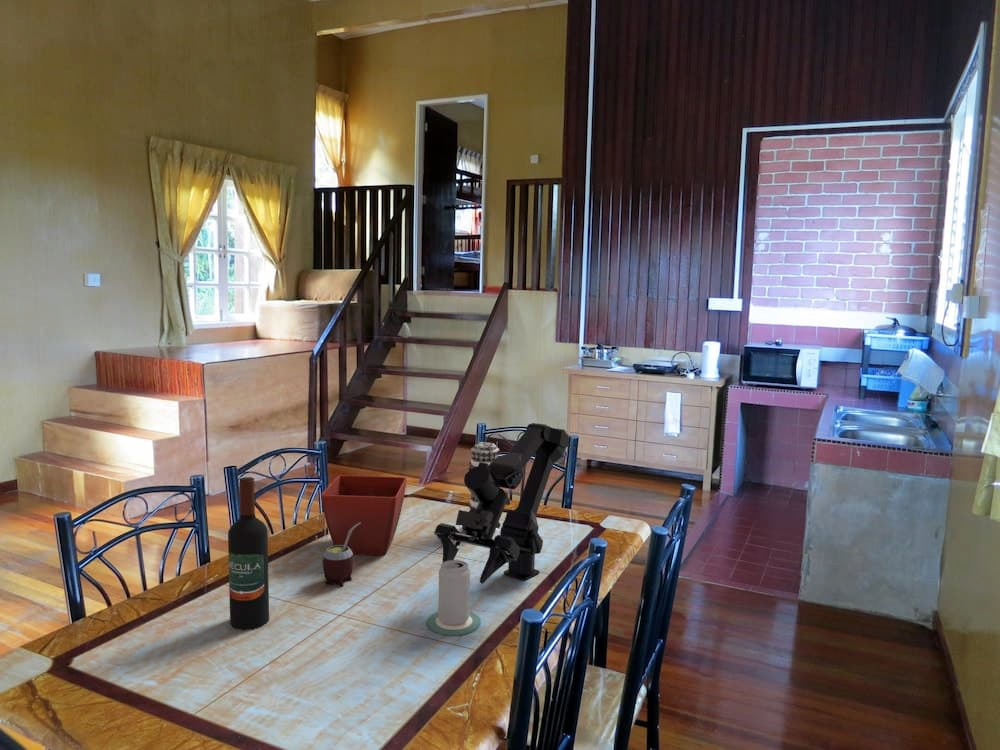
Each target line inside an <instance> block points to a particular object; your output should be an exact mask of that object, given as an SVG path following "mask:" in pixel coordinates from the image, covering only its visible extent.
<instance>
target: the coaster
mask: <svg viewBox="0 0 1000 750" xmlns="http://www.w3.org/2000/svg"><path fill="white" fill-rule="evenodd" d="M426 621H427V622H426V624H427V627H428V629H430V631H432V632H434V633H437V634H439V635H442V636H443V635H444V636H449V637H450V636H453V637H457V636H458V637H459V636H464V635H468V634H471V633H473V631H474V632H476V631H477V630H478V629H479V628H480V627H481V621H482V620H481V618H480V616H479V615H478V614H476V613H474V612H472V611H470V610H469V619H468V620H467V621H466V622H465V623H463V624H461V625H457V626H450V625H446V624H444V623H442V621H440V620H439V618H438V611H437V612H434V613H433V614H431V615H430V616H429V617H428V619H427V620H426ZM479 626H480V627H479Z"/></svg>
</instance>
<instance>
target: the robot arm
mask: <svg viewBox="0 0 1000 750" xmlns="http://www.w3.org/2000/svg"><path fill="white" fill-rule="evenodd" d="M569 443H570V436H569V435H568V433H567V432H566V430H565V429H563V428H555V427H552V426H550V425H547V424H543V423H537V422H536V423H535V422H532V423H528V425H527V427H526V430H525V431H524V433H522V435H521V436H520V438H518V440H517V441H516V442H515V444H514V445H513V446H512V447H511V448H510V450H509V451H508V452H507V453H506V454H503V455H500V456H499V455H498V457H497V458H496V459H495V460H494V461H492V462H491V463H490V465H488V464H487V463H481V462H480V463H479V465H478V467H474V468H472V469H471V470H468V472H466V473H465V475H464V477H463V482H464V483H463V484H464V485H465V487H466V489H468V491H469V492H470V494H471V493H472V495H473V496H474V498H475V499H476V500H477V501H479V503H478V505H477V507H476V509H472V510H471V512H469V511H468V510H467V511H466V510H461V509H458V512H457V515H456V520H455V525H456V526H462V527H461V529H462V531H464V532H465V533H463V532H459V530H458V529H457V527H456V526H455V525H453V524H446V523H442V522H441V523H438V524H437V526H436V527H435V528H434V531H433V534H434V535H435V536H436V538H437V539H438V541H439V542H440V543H441V545H442V563H443V562H445V561H449V560H455V558H456V556H457V554H458V552H459V550H460V549H459V548H458V547H459V546H460V545H461V543H463V544H467V545H473V546H476V547H482V548H486V549H489V555H488V558H487V561H486V563H485V565H484V568H483V570H482V572H481V575H480V578H479V583H480V584H482V585H483V584H484V583H485V582H486V581H487V580H488V579H489V578H490V577H491V576H492V575H493V574H495V572H497V571H498V570H499V569H501V567H503V566H504V565H506V564H508V566H507V567H508V568H507V569H506V570H504V571H503V574H504V575H507V576H510V577H513V578H515V579H518V580H522V581H526V580H528V579H530V578H533V577H534V576H536V575H538V574H539V573H540V570H538V569H535V564H536V563H535V561H536V559H535V558H536V557H535V556H536V555H537V554H538V555H539V554H541V553H542V550H543V546H544V545H543V544H544V540H543V539H542V537H541V536H540V534H539V533H538V532H539V530H540V529H539V523H538V520H537V513H538V510H539V507H540V504H541V501H542V498H543V495H544V492H545V489H546V486H547V484H548V481H549V477H550V475H551V472H552V469H553V466H554V464H555V463H556V462H557V461H558V460H560V459H561V458H562V457H563V456H564V454H565V451H566V450H567V448H568V446H569ZM534 455H535V456H534ZM533 456H534V460H533V461H532V465H531V468H530V472H529V474H528V476H527V478H526V482H525V485H524V487H523V491H522V493H521V496H520V498H519V499H520V500H519V502H518V505H517V507H516V508H515V509H514V510H511V509H508V511H507V512H506V514H505V517H504V521H503V523H502V524H501V523H500V520H501V517H502V514H503V511H504V510H505V507H506V506H510V504H511V500H510V497H509V493H508V492H506V491H505V490H504V489H507V490H508V489H509V490H516V488H518V487H519V485H520V484H521V482H522V480H523V478H524V468H525V466H526V465H527V464H528V462H529V461H530V460H531V459H532V457H533ZM499 487H500V488H499ZM500 527H501V528H500ZM496 528H498V529H500V533H499V534H497V535H496V536H494V535H495V533H496V532H495V530H496ZM493 537H494V539H493ZM442 563H441V564H442Z"/></svg>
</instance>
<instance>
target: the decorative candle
mask: <svg viewBox="0 0 1000 750" xmlns="http://www.w3.org/2000/svg"><path fill="white" fill-rule="evenodd" d="M470 450H471V459H470V461H469V463H468V466H469V467H468V471H469V470H471V469H472V468H474V467H478V465H479V463H480V462H481V463H487V464H488V465H490V463H491V462H492V461H494V460H495V459H496V458H497V457H499V451H500V448H499V447H497V445H496V444H495V443H493V442H491V441H490V442H489V441H488V442H486V441H481V442H476V443H475V444H474V446H473V447H472V448H470ZM499 488H501V487H499ZM478 503H479V501H477V500H476V499H475V498H474V496H473V495H472V493H471V492H470V502H469V505H468V508H469V511H468V512H471V510H472V509H476V507H477V505H478ZM498 530H499V528H496V530H495V532H494V533H496V532H497V531H498Z"/></svg>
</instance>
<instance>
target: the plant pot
mask: <svg viewBox="0 0 1000 750" xmlns="http://www.w3.org/2000/svg"><path fill="white" fill-rule="evenodd" d="M328 485H329V486H327V487H326V488H325V489H324V491H323V492H322V493H321V494H320V499H321V503H322V510H323V515H324V519H325V522H326V526H327V530H328V533H329V536H330V539H331V542H332V544H333V545H332V546H336V545H344V544H345V541H346V538H347V535H348V531H349V530H350V529H351V528H352V527H353V526H355V525H356V524H358V523H360V522H361V523H360V524H359V525H358V526H357V527H355V528H354V529H353V530H352V533H351V535H350V537H349V540H348V542H347V545H346V546H348V547H349V548H350V549H351V551H352V552H353V556H354V555H359V556H361V555H362V556H385V555H386V554H387V552H388V551H389V548H390V546H391V544H392V542H393V540H394V538H395V534H396V532H397V527H398V525H399V521H400V517H401V514H402V510H403V509H402V508H403V505H404V504H403V503H404V498H405V492H406V489H407V488H406V487H407V477H406V476H405V477H404V476H402V477H401V476H381V475H380V476H379V475H378V476H376V475H351V474H350V475H348V474H347V475H345V474H344V475H343V474H342V475H341V474H340V475H337V477H336V478H335V479H334V480H333V481H332V482H331V483H330V484H328Z"/></svg>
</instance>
